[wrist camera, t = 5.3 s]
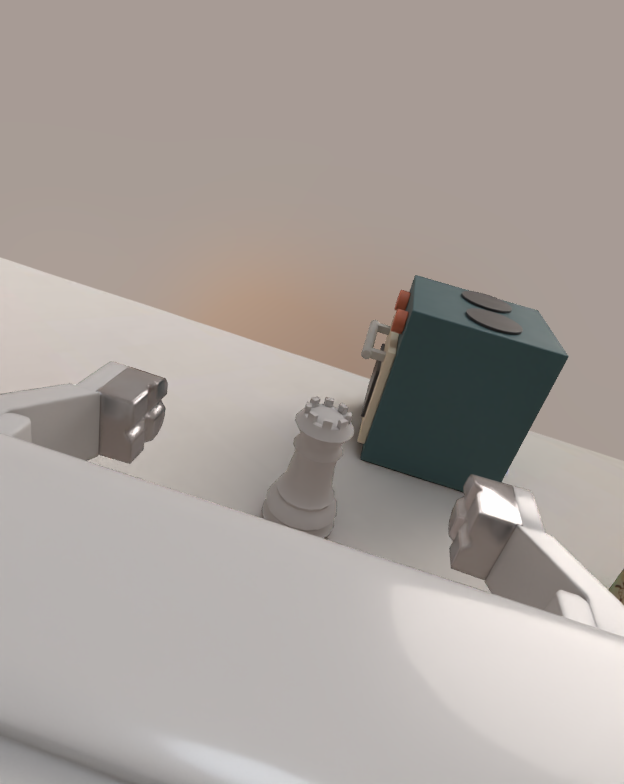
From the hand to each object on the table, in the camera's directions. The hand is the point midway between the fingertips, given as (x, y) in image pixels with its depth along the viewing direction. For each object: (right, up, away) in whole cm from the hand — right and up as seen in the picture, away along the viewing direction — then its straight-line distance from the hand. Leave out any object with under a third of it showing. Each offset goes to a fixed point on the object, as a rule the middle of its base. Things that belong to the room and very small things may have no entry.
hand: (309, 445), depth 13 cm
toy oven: (+8, -3, +28) cm, 29 cm away
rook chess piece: (-1, -6, +17) cm, 18 cm away
